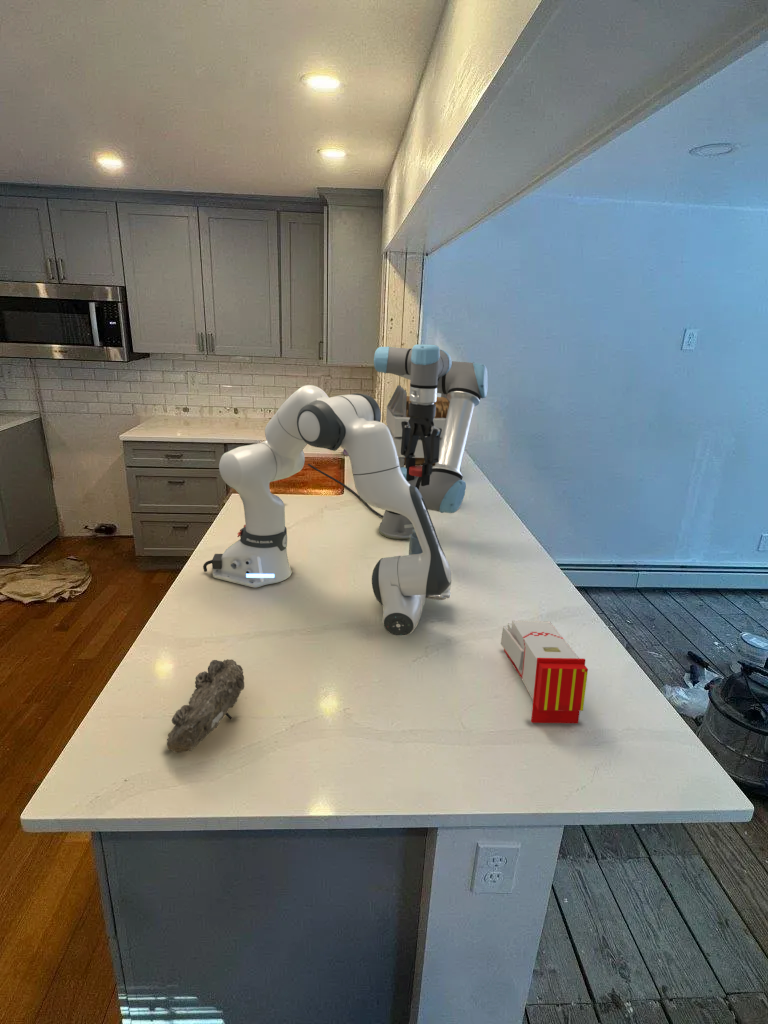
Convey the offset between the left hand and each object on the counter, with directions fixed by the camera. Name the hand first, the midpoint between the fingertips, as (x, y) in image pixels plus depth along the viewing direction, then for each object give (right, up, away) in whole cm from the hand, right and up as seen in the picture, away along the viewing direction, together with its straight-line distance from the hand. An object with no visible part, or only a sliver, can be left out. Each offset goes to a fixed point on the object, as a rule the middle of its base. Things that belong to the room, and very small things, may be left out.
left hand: (416, 571), depth 157 cm
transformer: (+8, +35, +118) cm, 123 cm away
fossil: (-42, -23, -49) cm, 69 cm away
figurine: (-27, +48, +148) cm, 158 cm away
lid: (+1, +29, +6) cm, 30 cm away
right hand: (+1, +25, +8) cm, 26 cm away
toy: (+24, -20, -34) cm, 46 cm away
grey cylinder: (0, -6, +1) cm, 6 cm away
